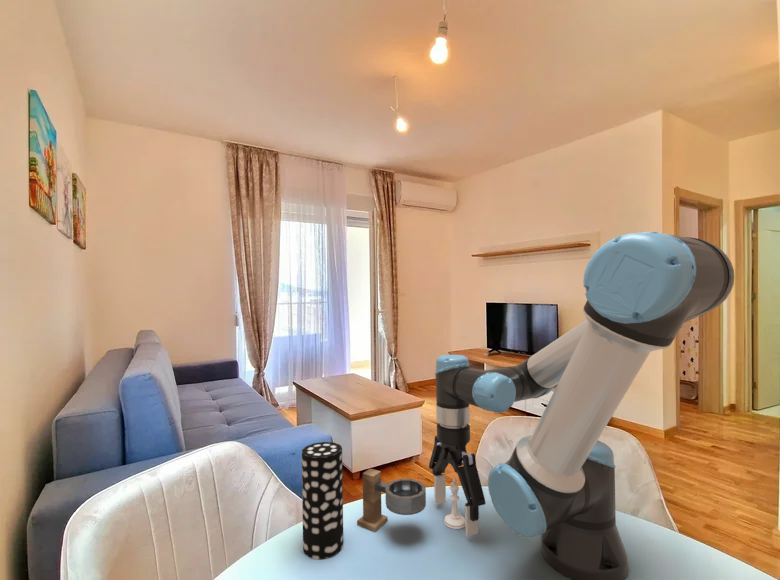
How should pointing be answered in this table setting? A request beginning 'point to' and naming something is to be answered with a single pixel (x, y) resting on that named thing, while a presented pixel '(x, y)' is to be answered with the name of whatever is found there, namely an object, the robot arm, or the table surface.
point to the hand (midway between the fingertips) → (455, 517)
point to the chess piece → (454, 510)
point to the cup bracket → (403, 496)
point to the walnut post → (371, 502)
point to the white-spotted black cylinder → (322, 500)
